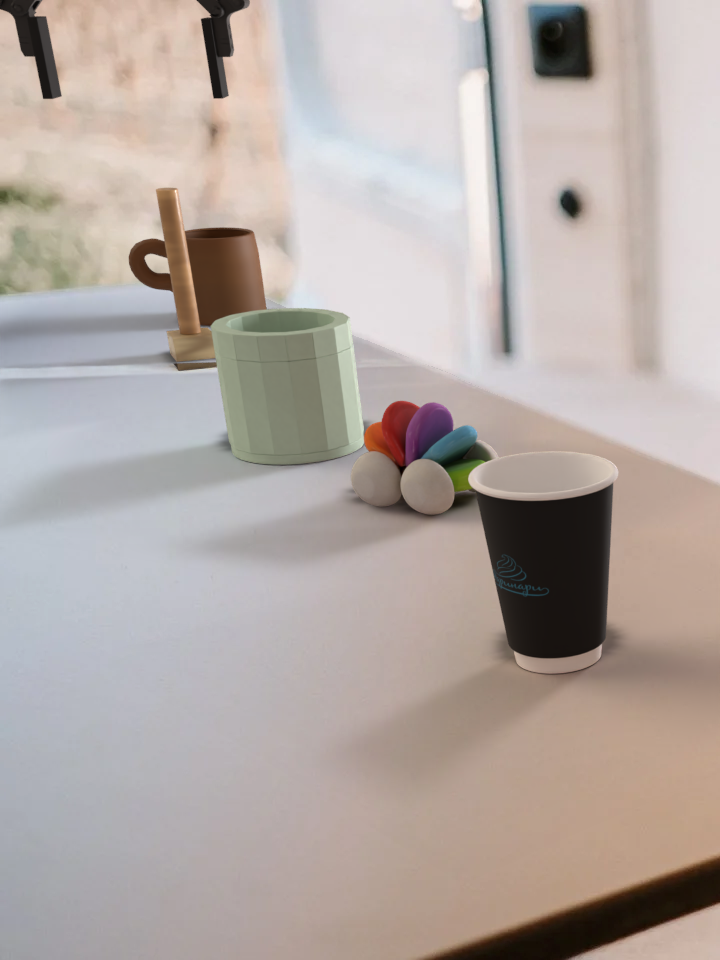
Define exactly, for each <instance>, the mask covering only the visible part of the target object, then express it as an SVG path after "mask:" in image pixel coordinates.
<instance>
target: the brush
mask: <svg viewBox="0 0 720 960" xmlns="http://www.w3.org/2000/svg"><path fill="white" fill-rule="evenodd" d="M155 192H156V199H157V205H158V206H157V207H158V211H159V218H160V225H161V229H162V235H163V241H165V247H166V253H167V258H166V259H167V264H168V272H169V274H170V277H171V283H172V289H173V292H172V295H173V300H174V301H173V302H174V306H175V312H176V318H177V325H178V329H175V330H172V329H171V330H166V336H167V343H168V348H169V354H170V355H171V357H172V358H173V360H175V362H173V363H172V364H173V366H174V367H175V368H176V369H177V371H189V370H199V369H208V368H217V364H216V361H208V362H207V361H205V362H204V361H203V362H192V361H199V360H209V359H210V360H211V359H216V357H215V351H214V344H213V338H212V332H211V328H209V326H206V327H201V325H200V322H199V316H198V309H197V303H196V297H195V291H194V285H193V279H192V273H191V266H190V260H189V254H188V248H187V242H186V236H185V231H186V230H185V223H184V217H183V211H182V206H181V200H180V193H179V188H177V187H159V188H156V189H155ZM189 361H191V362H189Z"/></svg>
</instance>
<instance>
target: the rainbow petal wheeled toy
mask: <svg viewBox="0 0 720 960" xmlns="http://www.w3.org/2000/svg"><path fill="white" fill-rule="evenodd" d="M451 413H452V412H450V410H449V409H448V408H447V407H446V406H444V405H443V404H441V403H439V402H428V403H424V404H423V405H422V406H421V407H420V406H418V405H417V404H416V403H413V402H411V401H407V400H396V401H393V402H392V403H390V404H389V405H388V406H387V407H386V409H385V410H384V412H383V415H382V418H381V421H377V422H374V423H372V424H370V425H369V426H368V427H366V429H365V431H364V433H363V435H364V447H365V449H366V450H367V452H365V453H363V454H361V455H360V456H359V457H358V458H357V459H356V461H355V462H354V463H353V465H352V468H351V471H350V483H351V486H352V489H353V491H354V493H355V494H356V496H357V497H358V498H360V499H361V500H362V501H363V502H364V503H366V504H369V505H370V506H374V507H389V506H392V505H394V504H396V503H397V502H398V501H400V499H401V497H402V498H403V499H404V501H405V502H406V504H407V505H408V506H409V507H410V508H411V509H413V510H415V511H416V512H419V513H420V514H425V515H430V516H433V515H441V514H443V513H446V512H447V511H448V510H449V509H450V508H451V507H452V506H453V503H454V500H455V493H458V492H465V491H469V492H472V493H476V491H475V489H474V488H472V487H471V486H470V484H469V481H468V477H469V474H470V473H471V471H472V470H473V469H474V468H476V467H477V466H479V465H481V464H483V463H485V462H487V461H490V460H493V459H496V458H500V457H499V456H498V453H497V452H496V450H495V449H494V448H493V447H492V446H491V445H490V444H489V443H487V442H485V441H483V440H481V439H478V431H477V430H476V428H475V427H473V426H471V425H469V424H467V425H466V424H465V425H462V426H458V427H457V428H455V429H454V419H453V416H452V414H451Z"/></svg>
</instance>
